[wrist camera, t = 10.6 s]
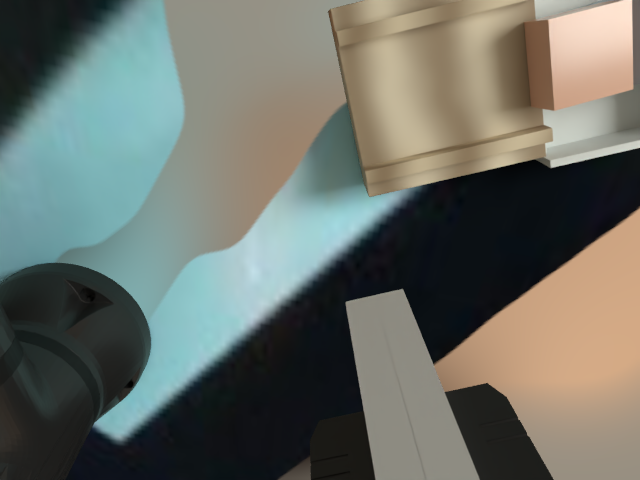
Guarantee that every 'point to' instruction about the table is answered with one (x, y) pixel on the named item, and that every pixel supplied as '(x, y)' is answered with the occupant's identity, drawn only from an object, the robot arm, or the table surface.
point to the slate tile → (634, 38)
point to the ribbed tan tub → (437, 88)
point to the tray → (589, 115)
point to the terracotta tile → (580, 55)
